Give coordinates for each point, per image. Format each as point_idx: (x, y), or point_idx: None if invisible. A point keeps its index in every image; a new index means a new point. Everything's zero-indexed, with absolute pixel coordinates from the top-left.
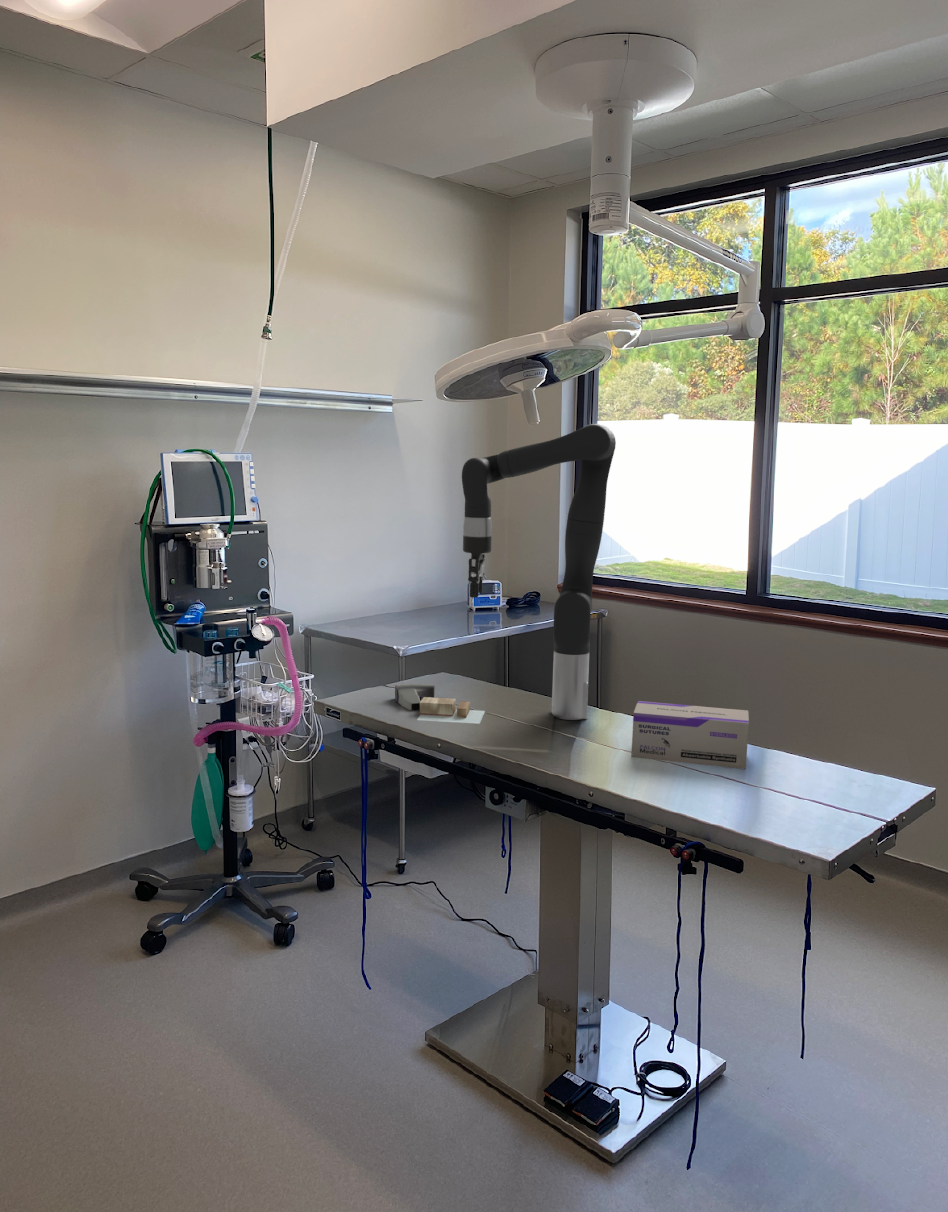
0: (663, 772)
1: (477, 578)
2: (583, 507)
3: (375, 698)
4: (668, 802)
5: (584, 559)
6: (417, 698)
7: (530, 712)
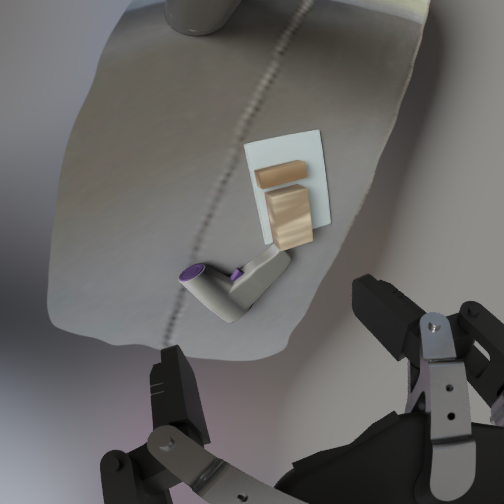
0: None
1: (485, 310)
2: None
3: (235, 330)
4: None
5: None
6: (267, 264)
7: (203, 71)
